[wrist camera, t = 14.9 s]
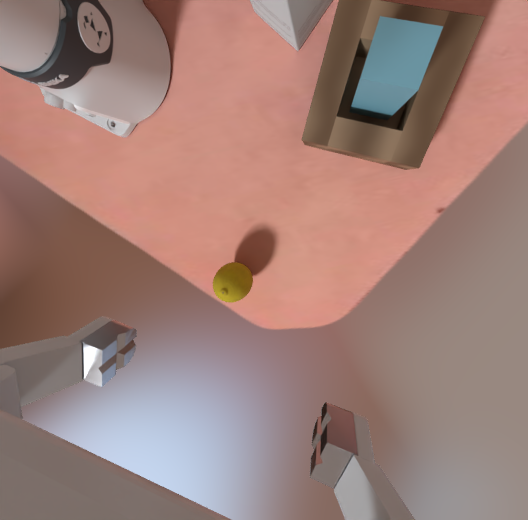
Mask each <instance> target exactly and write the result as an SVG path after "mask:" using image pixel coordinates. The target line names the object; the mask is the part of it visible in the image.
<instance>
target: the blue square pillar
mask: <svg viewBox="0 0 528 520" xmlns="http://www.w3.org/2000/svg"><path fill="white" fill-rule="evenodd" d="M442 29H443V26H438V25H431V24H425V23H419V22H413V21H407V20H401V19H395V18H388V17H382V16H380V18H379V21H378V24H377V27H376V30H375V34H374V37H373V40H372V43H371V46H370V49H369V52H368V55H367V58H366V61H365V65H364V68H363V71H362V74H361V77H360V80H359V83H358V86H357V90H356V93H355V96H354V99H353V102H352V105H351V108H350V112H351V113H356V114H360V115H365V116H369V117H374V118H378V119H383V120H388V119H389V118H390V117H391V116H392V115H393V114H394V113H395V112H396V111H397V110H398V109H400V108H401V107H402V106H403V105H404V104H405V103H406V102H407V101H408V100H409V99H410V98H411V97H412V96H413V95H414V94H415V93H416V92H417V91H418V90H419V87H420V85H421V82H422V80H423V77H424V74H425V72H426V69H427V67H428V64H429V62H430V59H431V57H432V54H433V52H434V49H435V46H436V44H437V41H438V39H439V36H440V34H441V31H442Z"/></svg>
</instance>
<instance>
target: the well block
mask: <svg viewBox="0 0 528 520" xmlns="http://www.w3.org/2000/svg"><path fill="white" fill-rule="evenodd" d="M380 16H382V17H388V18H395V19H401V20H407V21H413V22H419V23H425V24H431V25H438V26H443V29H442V31H441V34H440V36H439V39H438V41H437V44H436V46H435V49H434V52H433V54H432V57H431V59H430V62H429V64H428V67H427V69H426V72H425V74H424V77H423V80H422V82H421V85H420V87H419V90H418V91H417V92H416V93H415V94H414V95H413V96H412V97H411V98H410V99H409V100H408V101H407V102H406V103H405V104H404V105H403V106H402V107H401V108H400V109H398V110H397V111H396V112H395V113H394V114H393V115H392V116H391V117H390V118H389V119H388V120H383V119H378V118H374V117H369V116H365V115H360V114H356V113H351V112H350V108H351V105H352V102H353V99H354V96H355V93H356V90H357V86H358V83H359V80H360V77H361V74H362V71H363V68H364V65H365V61H366V58H367V55H368V52H369V49H370V46H371V43H372V40H373V37H374V34H375V30H376V27H377V24H378V21H379V18H380ZM484 18H485V16H478V15H471V14H465V13H458V12H452V11H445V10H439V9H432V8H426V7H419V6H413V5H406V4H400V3H393V2H387V1H380V0H339V2H338V6H337V10H336V13H335V17H334V21H333V25H332V28H331V32H330V36H329V40H328V43H327V47H326V51H325V54H324V58H323V62H322V66H321V69H320V73H319V77H318V81H317V84H316V88H315V92H314V96H313V99H312V103H311V107H310V110H309V114H308V118H307V122H306V125H305V129H304V133H303V137H302V141H303V143H304V144H305V145H307V146H311V147H315V148H319V149H323V150H327V151H331V152H336V153H340V154H344V155H348V156H352V157H356V158H360V159H364V160H368V161H372V162H377V163H381V164H385V165H389V166H393V167H397V168H401V169H405V170H407V169H415V168H419V167H420V165H421V163H422V160H423V158H424V156H425V154H426V151H427V149H428V147H429V144H430V142H431V140H432V138H433V135H434V133H435V131H436V128H437V126H438V124H439V121H440V119H441V117H442V115H443V112H444V110H445V108H446V105H447V103H448V101H449V98H450V96H451V94H452V92H453V89H454V87H455V85H456V82H457V80H458V78H459V75H460V73H461V71H462V69H463V66H464V64H465V62H466V59H467V57H468V55H469V52H470V50H471V48H472V46H473V43H474V41H475V39H476V36H477V34H478V32H479V30H480V27H481V25H482V23H483V20H484Z"/></svg>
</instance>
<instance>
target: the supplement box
mask: <svg viewBox="0 0 528 520" xmlns="http://www.w3.org/2000/svg"><path fill="white" fill-rule="evenodd" d="M332 1H333V0H250V2H251V4H252V6H253V8H254V11H255V12H256V13H257V14H258V15H259V16H260V17H261V18H262V19H263V20H264V21H265V22H266V23H267V24H268V25H269V26H270V27H272V28H273V29H274V30H275V31H276V32H277V33H278V34H279V35H280V36H281V37H283V38H284V39H285V40H286V41H287V42H288V43H289V44H290V45H291V46H293V47H294V48H295V49H296V50H297V51H299V49H300V48H301V46H302V45H303V43H304V42H305V41H306V39H307V38H308V36H309V35H310V33H311V32H312V30H313V29H314V27H315V26H316V24H317V23H318V21H319V20H320V18H321V17H322V15H323V14H324V12H325V11H326V10H327V8H328V7H329V5H330V4H331V2H332Z"/></svg>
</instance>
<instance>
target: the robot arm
mask: <svg viewBox="0 0 528 520" xmlns="http://www.w3.org/2000/svg"><path fill="white" fill-rule="evenodd" d="M0 67H1V68H2V69H4V70H5V71H7V72H9V73H10V74H12V75H15V76H17V77H19V78H21V79H23V80H25V81H28V82H31V83H33V84H36V85H37V86H39V87H40V89H41V92H42V94H43V95H44V101H45V103H47V104H49V105H52V106H55V107H57V108H61V109H67V110H69V111H71V112H73V113H75V114H77V115H79V116H81V117H83V118H85V119H87V120H89V121H91V122H93V123H94V124H96V125H98V126H100V127H102V128H104V129H106V130H108V131H110V132H112V133H114V134H116V135H118V136H121V137H127V136H129V135H130V133H131V132H132V131H133V129H134V128H135V126H136V124H138V123H139V122H140V121H142V120H144V119H146V118H147V117H149V116H150V115H152V114H153V113H154V112H155V111H156V110H157V108H158V107H159V106H160V104H161V103H162V101H163V99H164V97H165V95H166V92H167V89H168V85H169V80H170V70H171V64H170V53H169V48H168V44H167V41H166V38H165V35H164V33H163V31H162V28H161V27H160V25H159V23H158V22H157V20H156V19H155V17H154V16H153V15H152V14H151V13H150V11H149V10H148V9H147V8H146V6H145V5H144V3H143V1H142V0H0ZM114 123H115V126H114ZM136 332H137V331H136V329H134V328H132V327H130V326H127V325H125V324H123V323H120V322H118V321H116V320H113V319H110V318H108V317H105V316H103V317H99V318H98V319H96V320H94V321H93V322H91V323H89V324H88V325H86V326H84V327H83V328H81V329H79V330H78V331H76V332H75V333H73V334H71V335H70V336H68V337H66V336H60V337H55V338H51V339H46V340H41V341H36V342H32V343H27V344H22V345H18V346H13V347H8V348H3V349H0V520H231V519H229V518H227V517H225V516H223V515H221V514H219V513H216V512H214V511H212V510H210V509H208V508H206V507H204V506H202V505H200V504H198V503H196V502H194V501H191V500H189V499H187V498H185V497H183V496H181V495H179V494H177V493H175V492H173V491H171V490H169V489H166V488H164V487H162V486H160V485H158V484H156V483H154V482H152V481H150V480H147V479H145V478H143V477H141V476H139V475H137V474H135V473H133V472H131V471H129V470H127V469H124V468H122V467H120V466H118V465H116V464H114V463H112V462H110V461H107V460H106V459H103V458H101V457H99V456H97V455H95V454H93V453H91V452H89V451H87V450H85V449H83V448H81V447H79V446H76V445H74V444H72V443H70V442H68V441H66V440H64V439H62V438H60V437H58V436H56V435H54V434H51V433H49V432H47V431H45V430H43V429H41V428H39V427H37V426H35V425H32V424H30V423H28V422H26V421H24V420H22V419H23V417H22V410H21V407H23V406H25V405H27V404H30V403H32V402H34V401H37V400H39V399H41V398H43V397H46V396H48V395H51V394H53V393H55V392H58V391H60V390H62V389H65V388H67V387H70V386H72V385H74V384H77V383H79V382H81V381H82V380H85V381H87V382H90V383H92V384H95V385H97V386H100V387H103V386H104V385H105V384H106V383H107V382H108V381H109V380H110V379H111V378H113V377H114V376H115V374H116V369H119V368H122V367H124V366H125V365H126V364H127V363H129V361H130V360H131V358H132V357H133V355H134V352H135V349H136V345H135V343H134V340H133V339H134V338H135V337H136V334H137V333H136ZM312 446H313V448H314V452H313V454H312V456H311V467H310V478H312V479H314V480H317V481H319V482H321V483H323V484H325V485H327V486H329V487H331V488H334V492H335V495H336V497H337V500H338V502H339V505H340V507H341V510H342V513H343V515H344V517H345V520H415V519H414V517H413V516H412V514H411V513H410V511H409V510H408V508H407V507H406V505H405V504H404V502H403V500H402V499H401V498H400V496H399V494H398V493H397V491H396V490H395V488H394V487H393V485H392V484H391V482H390V481H389V479H388V478H387V476H386V474H385V473H384V472H383V470H382V468H381V467H380V465H378V464H376V463H375V461H374V455H373V449H372V443H371V438H370V432H369V426H368V420H367V418H366V417H364V416H362V415H359V414H356V413H353V412H351V411H348V410H345V409H342V408H340V407H337V406H335V405H332V404H329V403H327V402H325V403H324V405H323V407H322V410H321V416H320V417H318V418H317V421H316V423H315V426H314V430H313V436H312Z"/></svg>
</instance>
